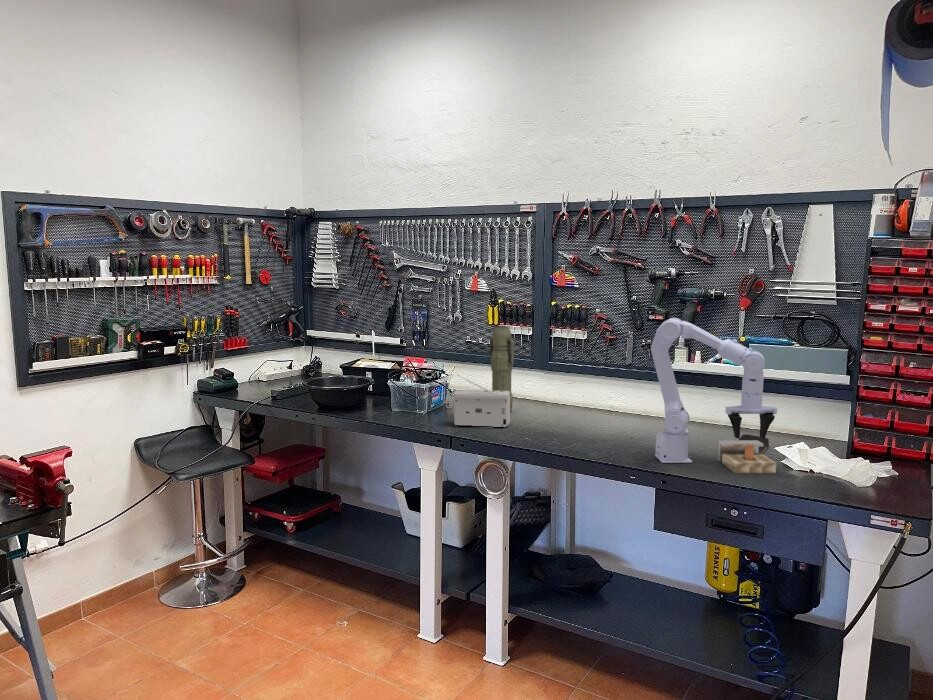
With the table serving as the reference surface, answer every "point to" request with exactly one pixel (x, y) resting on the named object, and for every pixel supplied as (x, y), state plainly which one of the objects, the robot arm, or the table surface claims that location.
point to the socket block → (749, 463)
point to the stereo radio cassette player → (481, 407)
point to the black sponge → (762, 440)
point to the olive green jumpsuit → (502, 360)
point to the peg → (749, 452)
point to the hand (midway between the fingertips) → (749, 437)
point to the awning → (737, 447)
